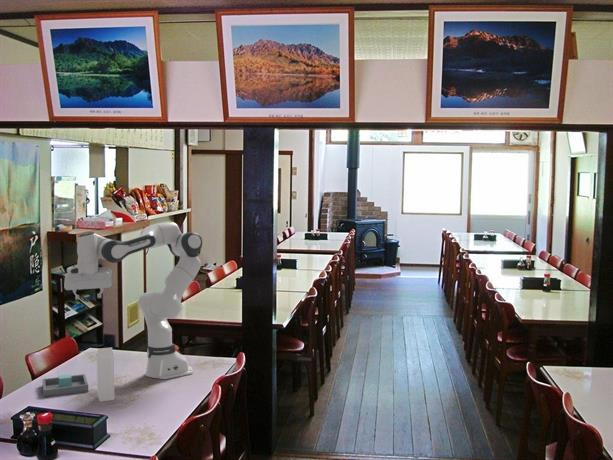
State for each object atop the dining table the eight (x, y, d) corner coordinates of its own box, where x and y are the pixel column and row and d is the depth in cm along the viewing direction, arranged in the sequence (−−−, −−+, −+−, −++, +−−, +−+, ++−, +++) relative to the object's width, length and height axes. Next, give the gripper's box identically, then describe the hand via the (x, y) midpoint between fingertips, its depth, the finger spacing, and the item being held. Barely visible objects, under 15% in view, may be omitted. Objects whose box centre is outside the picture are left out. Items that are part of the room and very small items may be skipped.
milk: (97, 397, 263) (96, 347, 261) (112, 395, 266) (111, 345, 264) (99, 402, 258) (98, 350, 256) (114, 399, 260) (113, 348, 258)
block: (70, 384, 277) (70, 374, 276) (71, 388, 272) (71, 377, 272) (59, 386, 275) (58, 375, 274) (59, 389, 270) (59, 378, 270)
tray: (84, 380, 284) (84, 374, 284) (88, 391, 270) (88, 384, 270) (42, 385, 277) (42, 379, 277) (43, 397, 262) (43, 390, 262)
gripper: (110, 266, 284) (111, 295, 285) (63, 268, 276) (64, 298, 277) (112, 268, 279) (113, 298, 280) (64, 270, 270) (65, 301, 271)
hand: (88, 298), depth 278 cm, fingers open, 8 cm apart
